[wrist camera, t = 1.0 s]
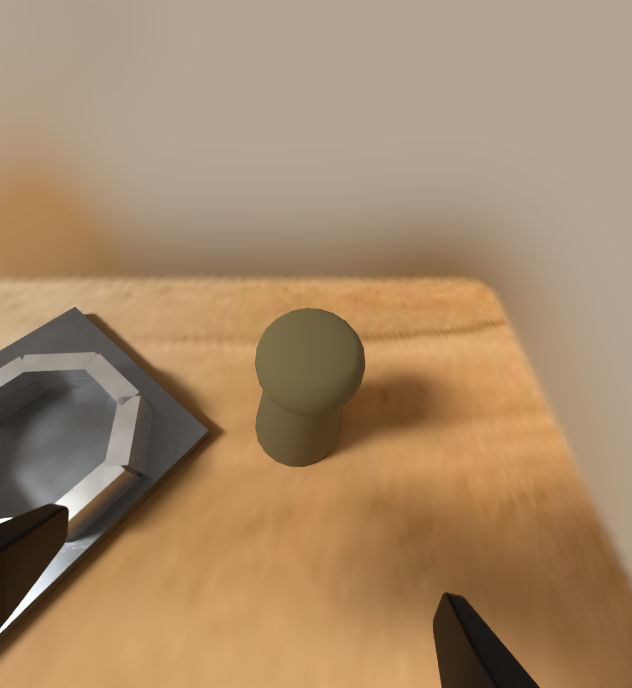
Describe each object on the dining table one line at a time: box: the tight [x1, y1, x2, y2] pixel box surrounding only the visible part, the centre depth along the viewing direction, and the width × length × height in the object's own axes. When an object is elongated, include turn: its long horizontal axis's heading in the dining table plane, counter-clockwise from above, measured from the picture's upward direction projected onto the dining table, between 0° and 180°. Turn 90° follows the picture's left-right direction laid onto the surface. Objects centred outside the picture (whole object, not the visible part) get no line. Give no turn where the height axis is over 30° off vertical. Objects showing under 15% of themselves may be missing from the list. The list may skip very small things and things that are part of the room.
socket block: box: [0, 307, 211, 642], centre depth 19 cm, size 15×15×4 cm
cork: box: [255, 308, 365, 467], centre depth 19 cm, size 6×6×11 cm
